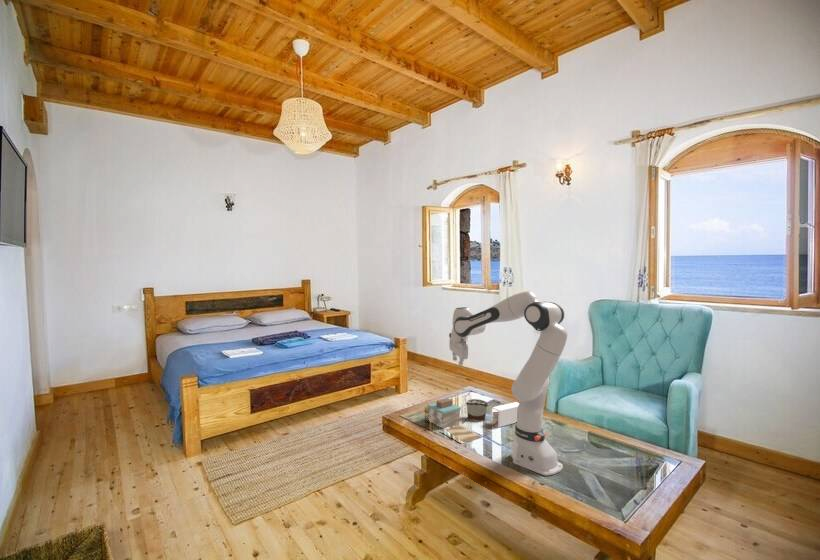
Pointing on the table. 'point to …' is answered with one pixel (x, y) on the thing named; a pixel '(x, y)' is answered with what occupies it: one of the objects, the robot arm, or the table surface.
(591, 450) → the table surface
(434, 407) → the lid
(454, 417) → the box
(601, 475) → the table surface
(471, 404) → the food container
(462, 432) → the mat
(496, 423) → the cigarette display
